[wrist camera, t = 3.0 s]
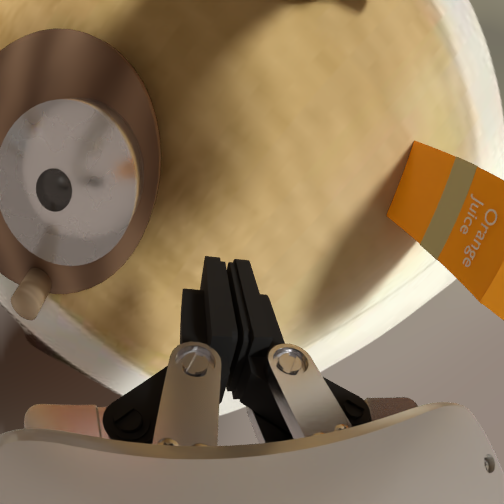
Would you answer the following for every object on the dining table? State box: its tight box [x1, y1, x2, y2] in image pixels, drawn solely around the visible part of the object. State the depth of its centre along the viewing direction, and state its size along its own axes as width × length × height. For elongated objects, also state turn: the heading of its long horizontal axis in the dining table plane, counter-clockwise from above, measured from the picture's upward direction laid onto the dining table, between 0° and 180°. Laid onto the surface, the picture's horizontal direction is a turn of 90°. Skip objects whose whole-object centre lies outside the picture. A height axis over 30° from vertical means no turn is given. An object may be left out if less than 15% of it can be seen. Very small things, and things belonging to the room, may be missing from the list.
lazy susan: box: [0, 29, 161, 320], centre depth 14 cm, size 24×24×6 cm
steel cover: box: [0, 98, 144, 266], centre depth 15 cm, size 12×12×3 cm
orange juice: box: [386, 141, 504, 320], centre depth 17 cm, size 8×9×20 cm
